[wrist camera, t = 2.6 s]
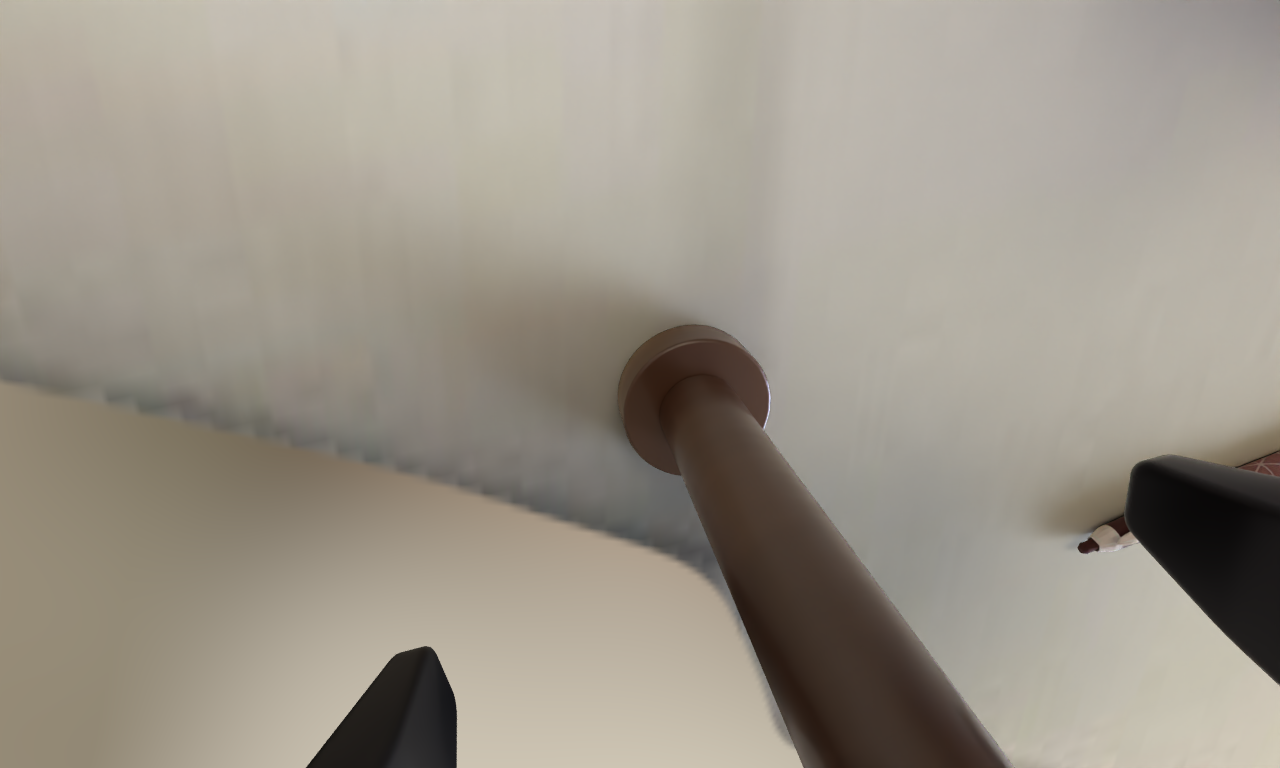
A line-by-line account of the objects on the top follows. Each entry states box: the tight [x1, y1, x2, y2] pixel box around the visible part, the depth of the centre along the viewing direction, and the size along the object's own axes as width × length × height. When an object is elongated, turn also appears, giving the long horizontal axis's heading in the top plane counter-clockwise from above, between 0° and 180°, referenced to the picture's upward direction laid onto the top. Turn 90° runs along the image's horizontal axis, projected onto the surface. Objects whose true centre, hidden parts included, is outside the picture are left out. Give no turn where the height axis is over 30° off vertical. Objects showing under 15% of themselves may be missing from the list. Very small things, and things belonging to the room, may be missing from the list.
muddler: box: [618, 325, 1015, 768], centre depth 8 cm, size 3×3×11 cm
